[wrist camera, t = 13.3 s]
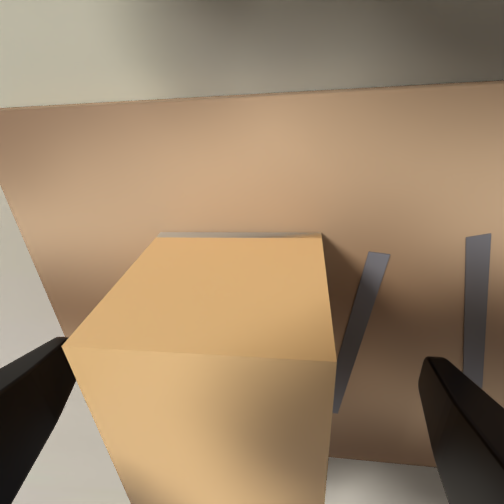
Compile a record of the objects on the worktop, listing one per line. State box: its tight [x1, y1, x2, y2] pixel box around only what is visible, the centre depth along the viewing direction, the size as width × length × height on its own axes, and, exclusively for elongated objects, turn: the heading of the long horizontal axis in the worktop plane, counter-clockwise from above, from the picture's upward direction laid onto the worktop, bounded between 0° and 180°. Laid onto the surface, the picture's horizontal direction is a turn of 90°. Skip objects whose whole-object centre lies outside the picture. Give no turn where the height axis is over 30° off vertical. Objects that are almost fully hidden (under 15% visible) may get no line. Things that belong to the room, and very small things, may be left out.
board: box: [0, 80, 504, 467], centre depth 9 cm, size 12×22×1 cm, turn 93°
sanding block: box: [62, 232, 337, 504], centre depth 8 cm, size 6×4×4 cm, turn 3°
